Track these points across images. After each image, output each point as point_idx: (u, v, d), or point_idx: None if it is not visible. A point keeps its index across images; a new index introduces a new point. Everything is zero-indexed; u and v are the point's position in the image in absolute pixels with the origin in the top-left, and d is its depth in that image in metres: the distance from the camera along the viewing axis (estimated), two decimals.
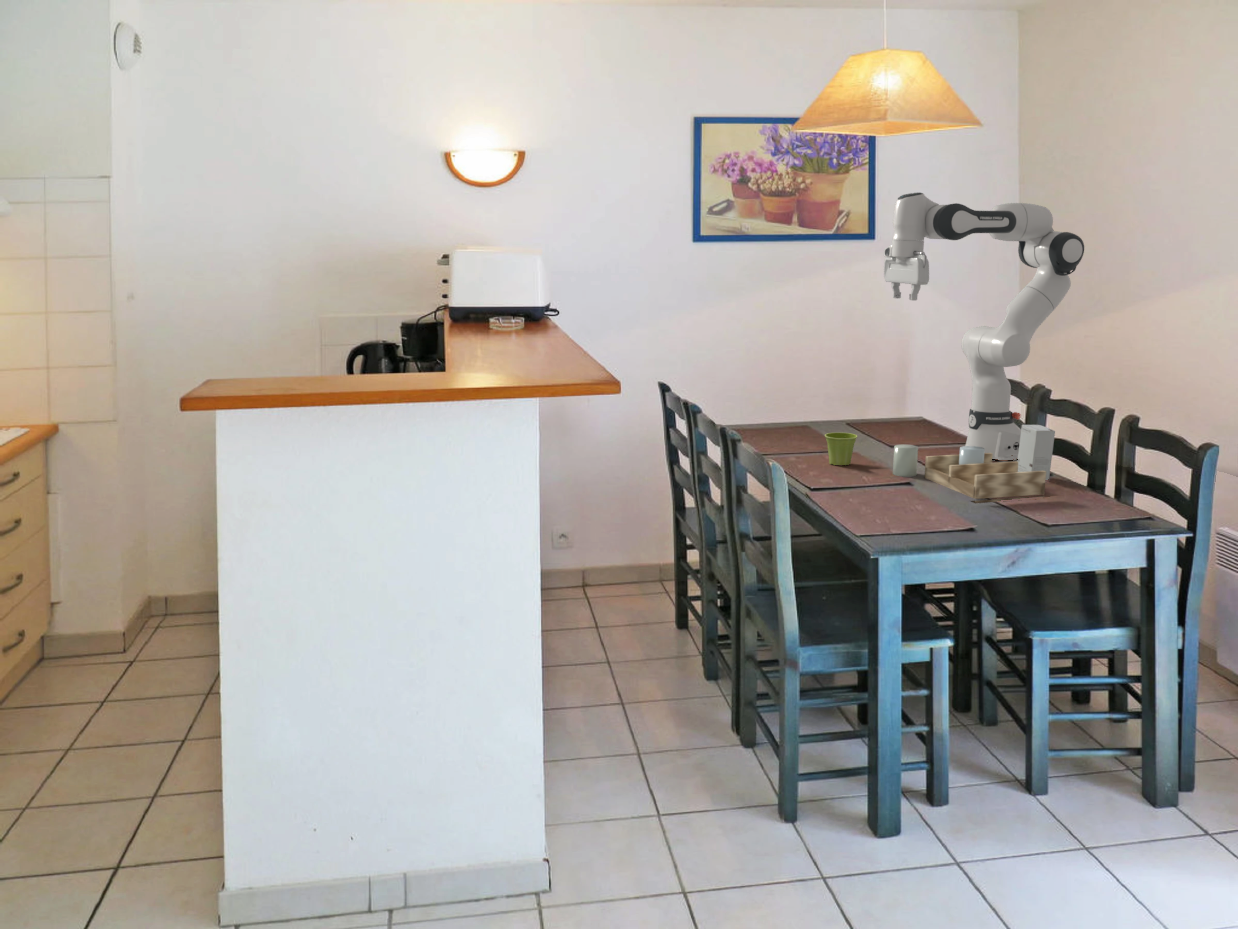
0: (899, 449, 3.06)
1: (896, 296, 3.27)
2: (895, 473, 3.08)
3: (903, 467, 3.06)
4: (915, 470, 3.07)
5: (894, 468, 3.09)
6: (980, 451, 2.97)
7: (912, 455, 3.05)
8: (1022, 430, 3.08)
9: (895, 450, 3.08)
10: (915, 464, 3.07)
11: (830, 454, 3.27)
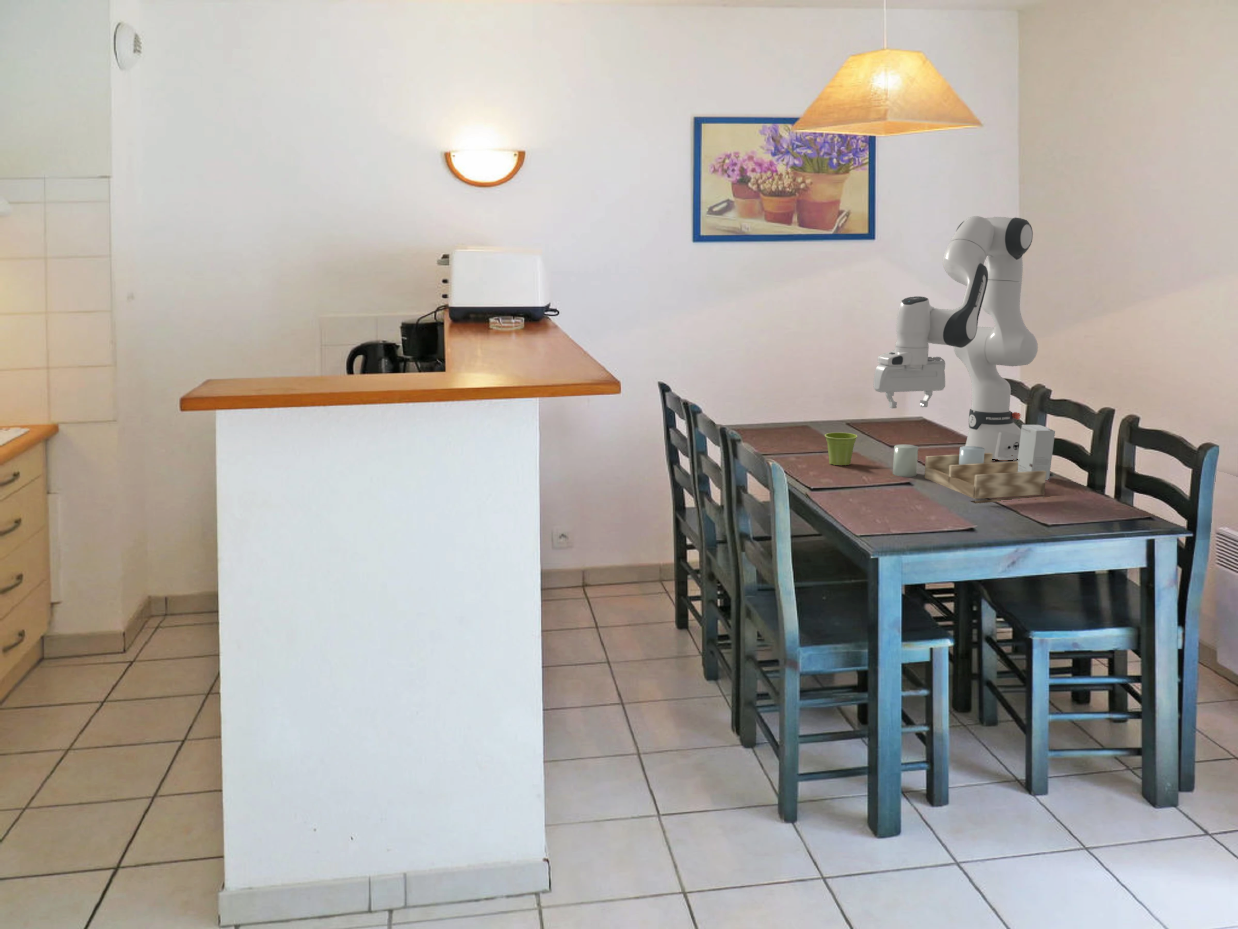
0: (899, 449, 3.06)
1: None
2: (895, 473, 3.08)
3: (903, 467, 3.06)
4: (915, 470, 3.07)
5: (894, 468, 3.09)
6: (980, 451, 2.97)
7: (912, 455, 3.05)
8: (1022, 430, 3.08)
9: (895, 450, 3.08)
10: (915, 464, 3.07)
11: (830, 454, 3.27)
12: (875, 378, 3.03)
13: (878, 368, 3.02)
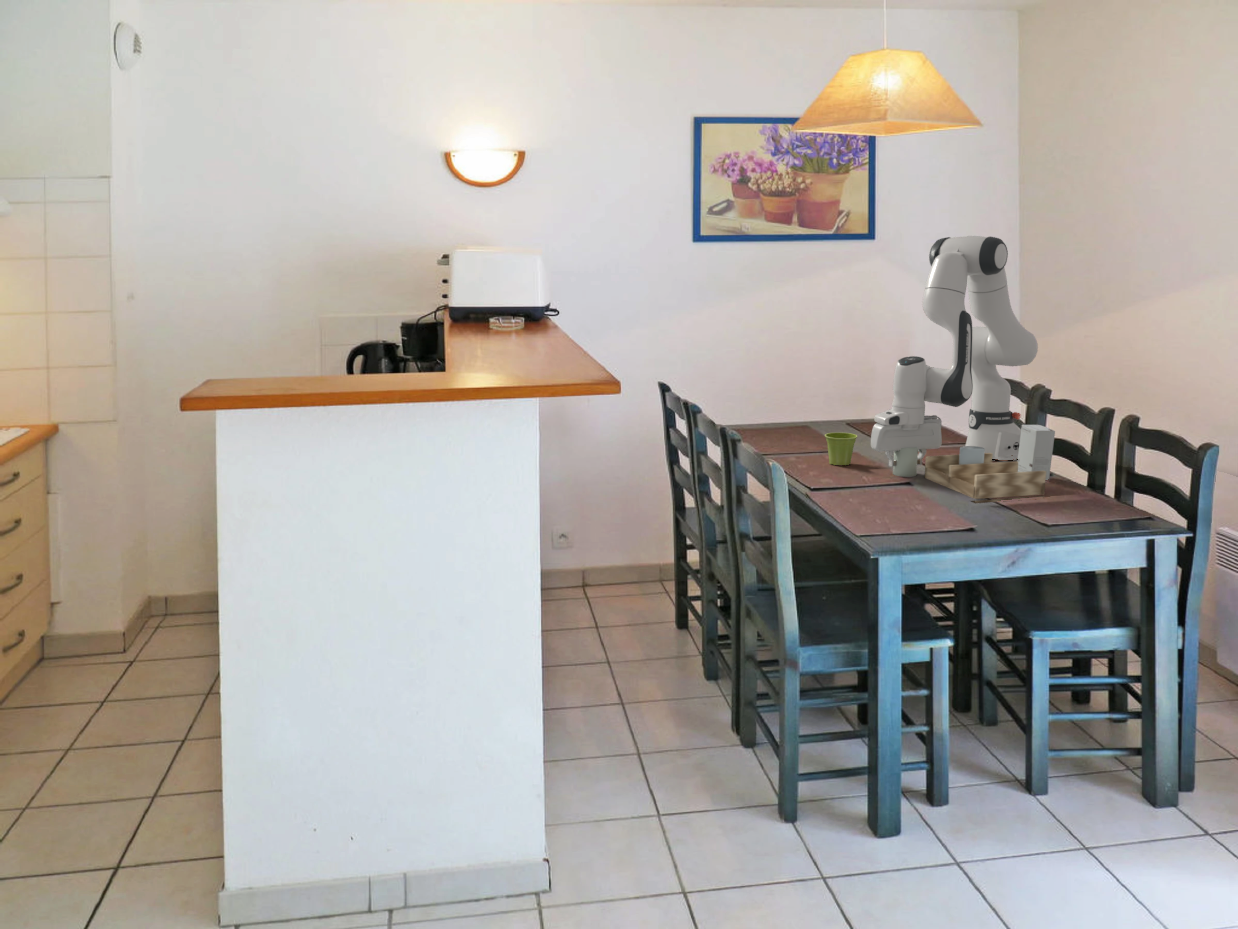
0: None
1: None
2: (895, 473, 3.08)
3: (903, 467, 3.06)
4: (915, 470, 3.07)
5: (894, 468, 3.09)
6: (980, 451, 2.97)
7: (912, 455, 3.05)
8: (1022, 430, 3.08)
9: None
10: (915, 464, 3.07)
11: (830, 454, 3.27)
12: (872, 437, 3.06)
13: (875, 427, 3.05)
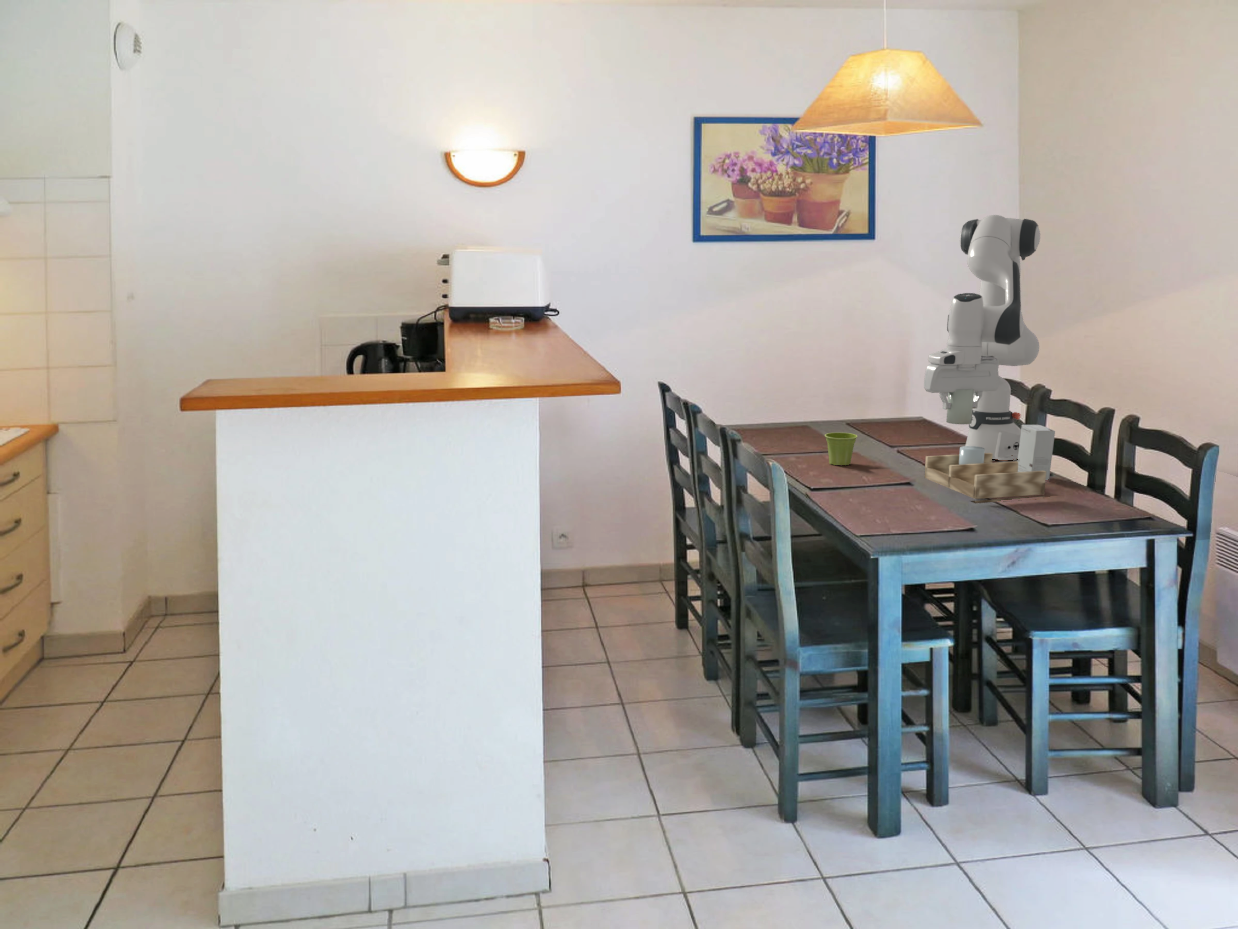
0: None
1: None
2: (949, 416, 2.93)
3: (958, 409, 2.91)
4: (970, 413, 2.92)
5: (948, 411, 2.94)
6: (980, 451, 2.97)
7: (968, 397, 2.90)
8: (1022, 430, 3.08)
9: (949, 392, 2.93)
10: (971, 407, 2.92)
11: (830, 454, 3.27)
12: (925, 378, 2.91)
13: (929, 368, 2.90)
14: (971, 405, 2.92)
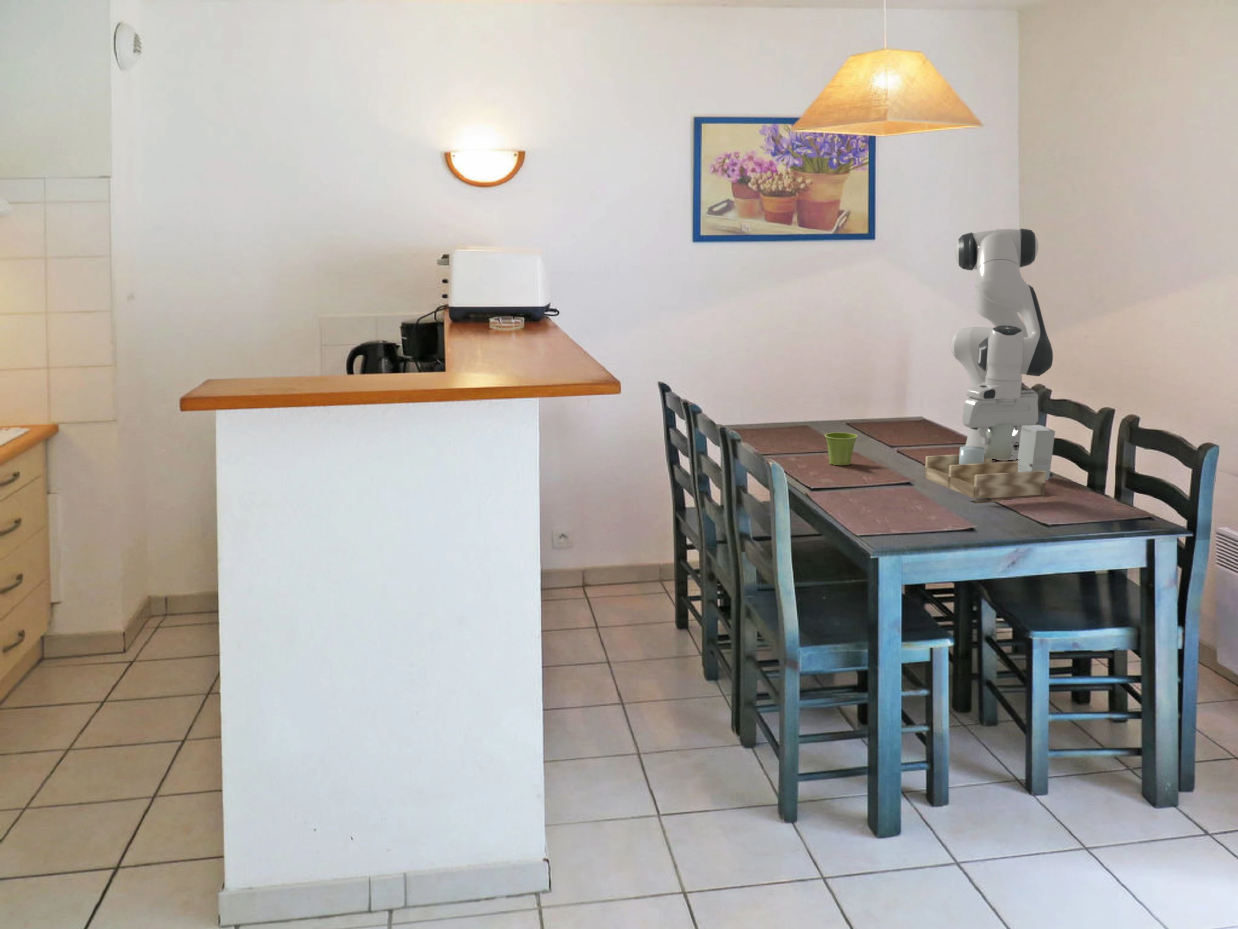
0: None
1: None
2: (988, 451, 2.87)
3: (998, 444, 2.85)
4: (1010, 448, 2.86)
5: (987, 446, 2.87)
6: (980, 451, 2.97)
7: (1007, 431, 2.84)
8: (1022, 430, 3.08)
9: None
10: (1010, 441, 2.85)
11: (830, 454, 3.27)
12: (964, 412, 2.84)
13: (968, 402, 2.84)
14: (1011, 440, 2.85)
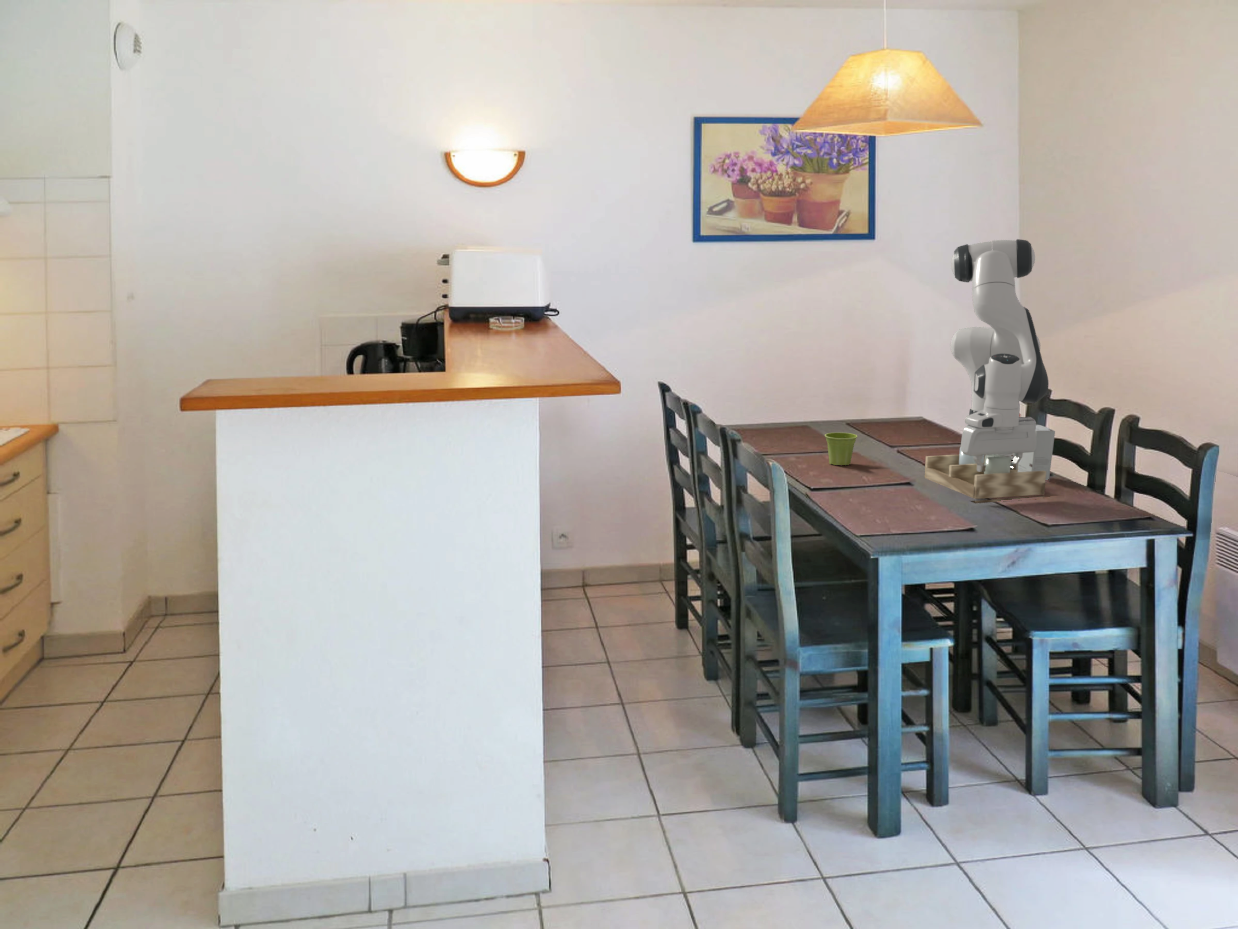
0: (991, 459, 2.86)
1: None
2: None
3: None
4: None
5: None
6: None
7: (1005, 465, 2.86)
8: None
9: (986, 460, 2.88)
10: None
11: (830, 454, 3.27)
12: (962, 440, 2.86)
13: (966, 430, 2.85)
14: None
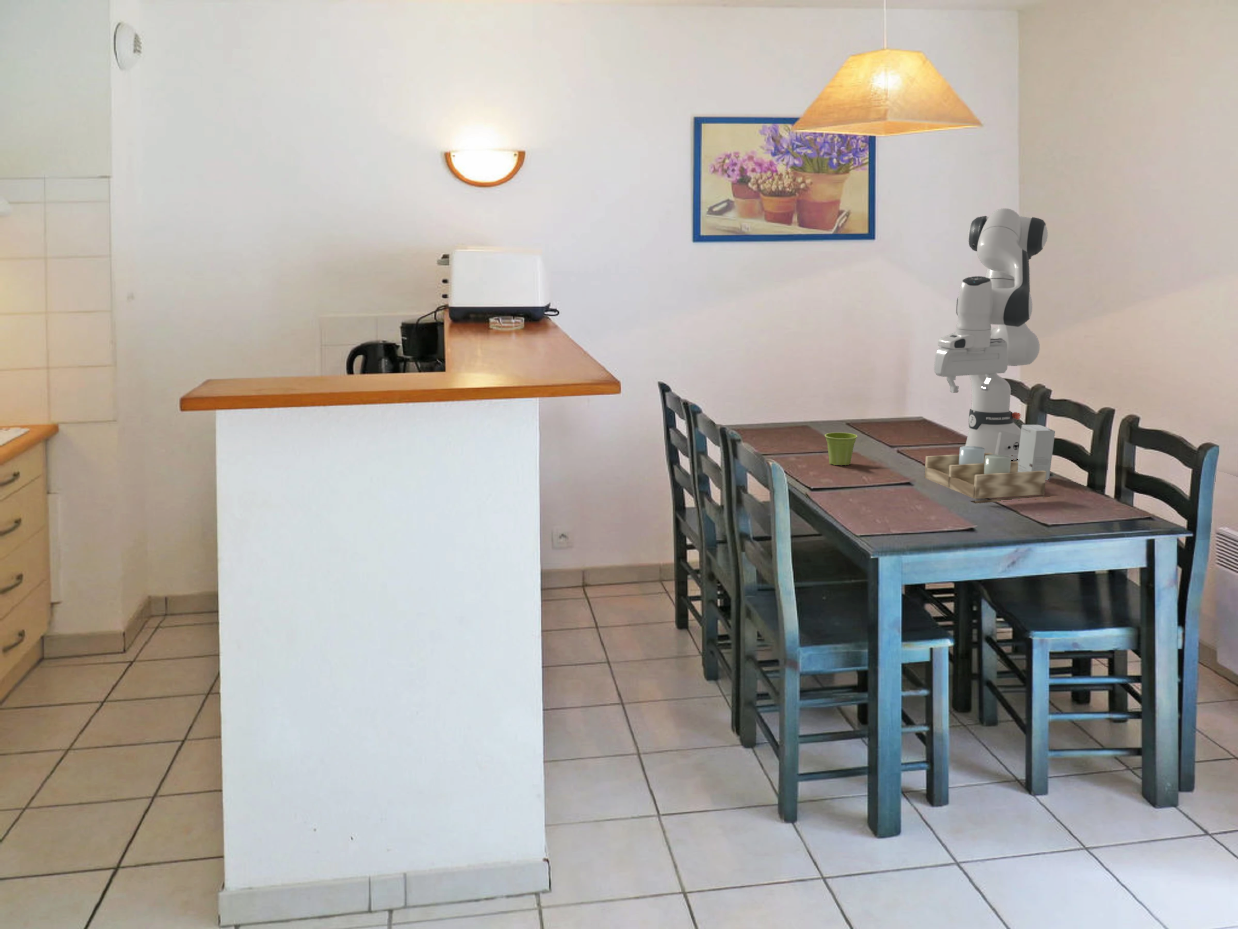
0: (991, 459, 2.86)
1: None
2: None
3: None
4: None
5: None
6: (980, 451, 2.97)
7: (1005, 466, 2.86)
8: (1022, 430, 3.08)
9: (986, 460, 2.88)
10: None
11: (830, 454, 3.27)
12: (936, 362, 2.93)
13: (939, 352, 2.92)
14: None
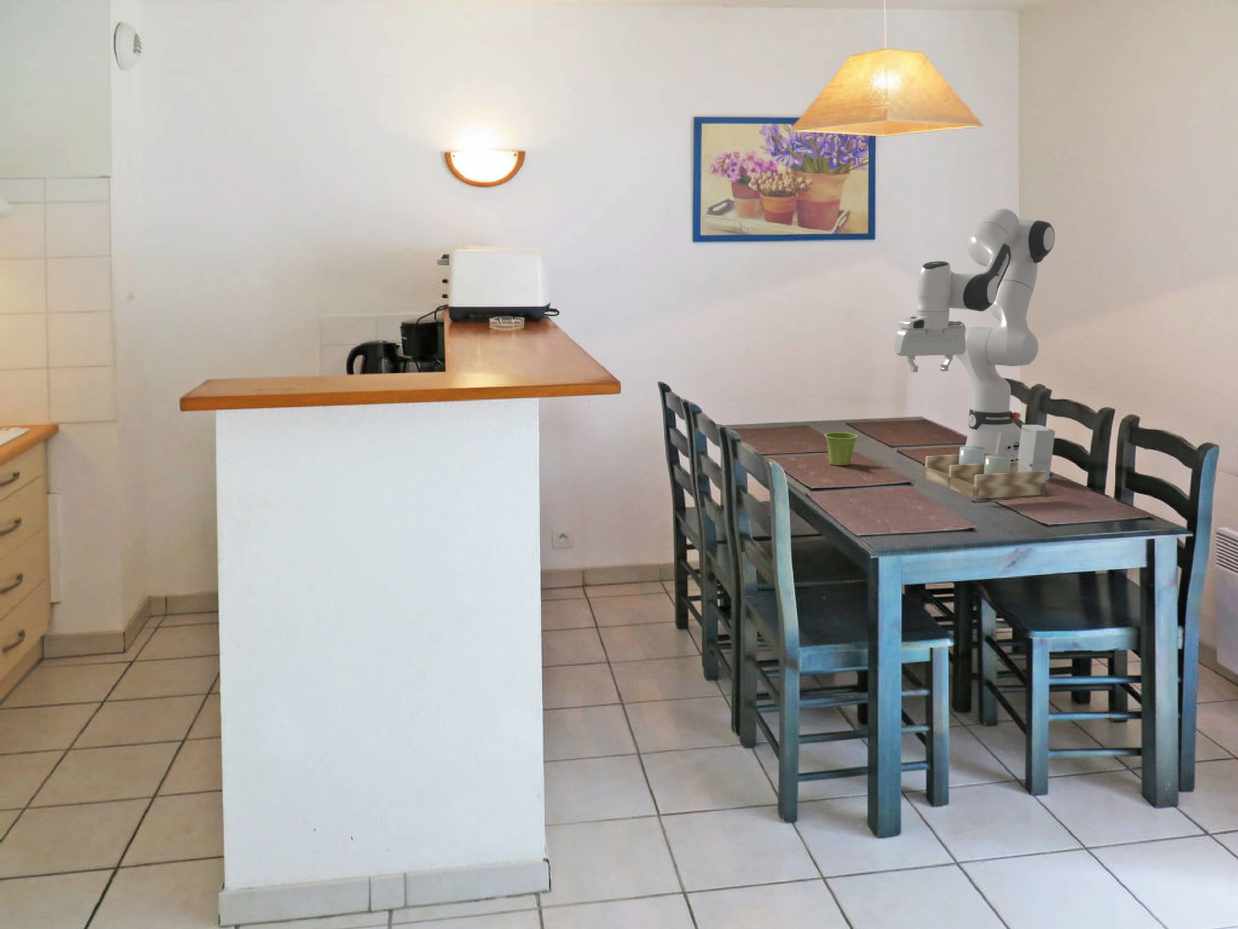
0: (991, 459, 2.86)
1: None
2: None
3: None
4: None
5: None
6: (980, 451, 2.97)
7: (1005, 466, 2.86)
8: (1022, 430, 3.08)
9: (986, 460, 2.88)
10: None
11: (830, 454, 3.27)
12: (896, 342, 3.07)
13: (899, 332, 3.06)
14: None
